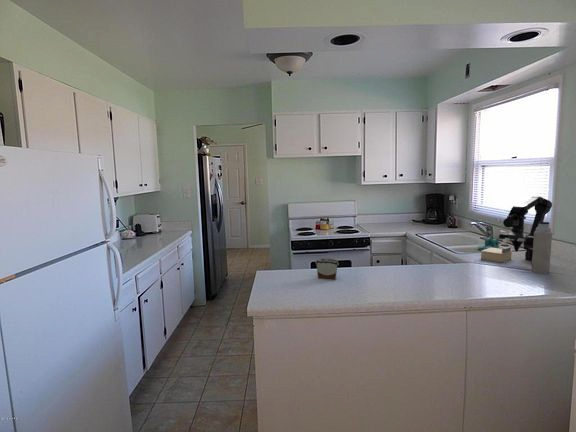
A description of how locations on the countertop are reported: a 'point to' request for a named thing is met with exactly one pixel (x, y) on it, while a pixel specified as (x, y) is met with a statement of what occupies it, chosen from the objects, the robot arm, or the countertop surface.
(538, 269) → the thermos bottle
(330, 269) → the food container
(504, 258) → the carton
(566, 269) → the countertop surface
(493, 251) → the carton lid
